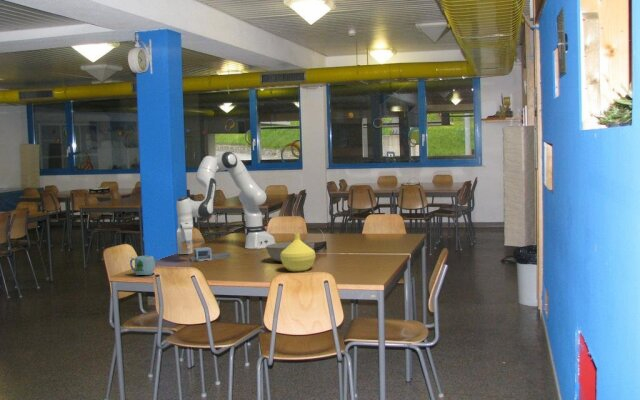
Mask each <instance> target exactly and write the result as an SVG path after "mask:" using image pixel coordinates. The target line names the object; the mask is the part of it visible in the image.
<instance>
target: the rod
mask: <svg viewBox="0 0 640 400" xmlns="http://www.w3.org/2000/svg"><path fill="white" fill-rule="evenodd" d="M206 258H210V255H200V256H198V259H206ZM230 258H231V253H230V252H223V253H214V254H213V253H212V260H218V259H219V260H220V259H221V260H222V259H230ZM195 260H197V259H196V256H194V255H191V256H190V261H191V262H196V261H195Z"/></svg>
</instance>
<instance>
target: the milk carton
mask: <svg viewBox="0 0 640 400" xmlns="http://www.w3.org/2000/svg"><path fill="white" fill-rule="evenodd" d="M176 239H177V240H176V241H177V254H178V256H179V254H189V255H190V254H193V253H194V248H193V240H192V241H190V242H191V251H182V242H184V239H183V238H182V235H181V228H178V227H177V230H176Z"/></svg>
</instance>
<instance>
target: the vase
mask: <svg viewBox="0 0 640 400" xmlns="http://www.w3.org/2000/svg"><path fill="white" fill-rule="evenodd" d="M300 235H301V234H300V233H299V232H298V233H297V232H296V233H294V234H293V241H291V242H292V243H291V244H290V245H289V246H288V247H287V248H286V249H284V250H283V251H282V252H281V255H280V257H281V261H282V262H281V264H282V265H283V267H284V268H286V270H287V271H289V272H293V273H294V272H297V273H298V272H306V271H308V270H309V269H310V268H311V267H312V266H313V265H314V262H315V260H316V251H315V250H314V249H311V248H310V247H309V246H307V245H306V244H304V243H303V242H304V241H302V239H301V238H300Z"/></svg>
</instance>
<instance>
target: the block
mask: <svg viewBox="0 0 640 400" xmlns="http://www.w3.org/2000/svg"><path fill="white" fill-rule="evenodd" d="M182 251H191V242H190V248H187V246H186V242H182Z"/></svg>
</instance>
